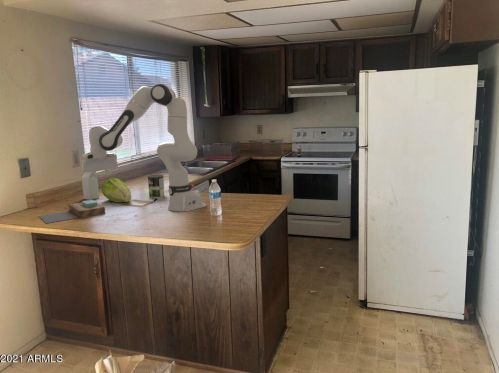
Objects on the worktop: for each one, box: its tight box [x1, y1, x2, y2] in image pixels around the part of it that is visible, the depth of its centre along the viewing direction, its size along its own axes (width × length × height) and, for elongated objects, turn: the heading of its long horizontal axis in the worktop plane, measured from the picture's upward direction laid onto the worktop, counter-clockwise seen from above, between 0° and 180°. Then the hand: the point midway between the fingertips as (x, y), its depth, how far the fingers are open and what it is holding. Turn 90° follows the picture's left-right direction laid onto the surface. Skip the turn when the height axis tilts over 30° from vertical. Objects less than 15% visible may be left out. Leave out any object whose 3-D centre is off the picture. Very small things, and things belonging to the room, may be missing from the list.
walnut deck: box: [68, 202, 106, 219], centre depth 246 cm, size 14×22×4 cm, turn 37°
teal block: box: [81, 199, 98, 207], centre depth 247 cm, size 6×9×2 cm, turn 37°
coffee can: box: [147, 174, 165, 199], centre depth 283 cm, size 10×10×14 cm
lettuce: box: [101, 177, 132, 203], centre depth 273 cm, size 15×24×16 cm
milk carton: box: [81, 171, 100, 201], centre depth 283 cm, size 7×7×19 cm
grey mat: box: [38, 210, 78, 224], centre depth 237 cm, size 16×20×1 cm
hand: (101, 177), depth 249 cm, fingers open, 3 cm apart
